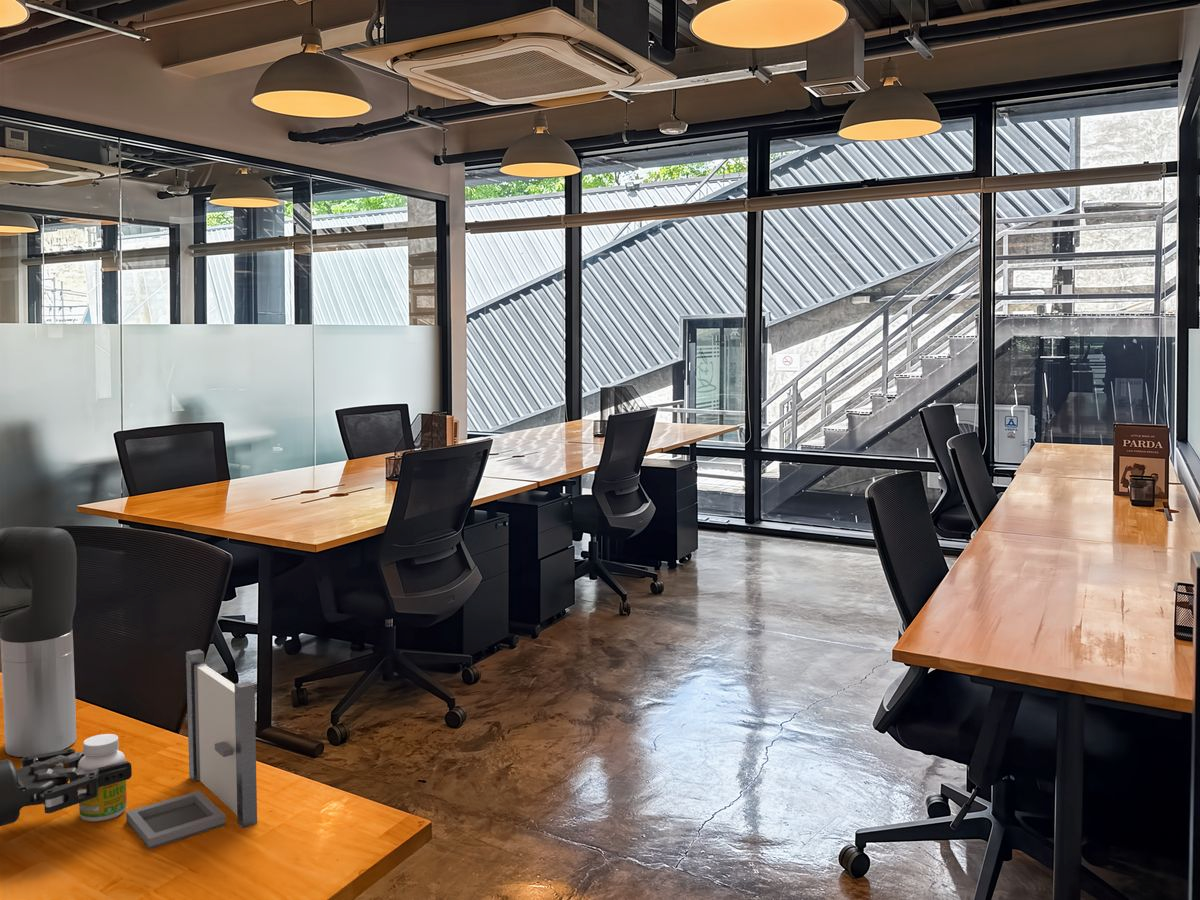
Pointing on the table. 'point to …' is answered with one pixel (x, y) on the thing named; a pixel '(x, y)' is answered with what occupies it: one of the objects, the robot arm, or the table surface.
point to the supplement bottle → (109, 796)
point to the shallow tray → (175, 819)
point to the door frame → (243, 740)
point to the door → (216, 734)
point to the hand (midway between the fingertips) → (123, 761)
